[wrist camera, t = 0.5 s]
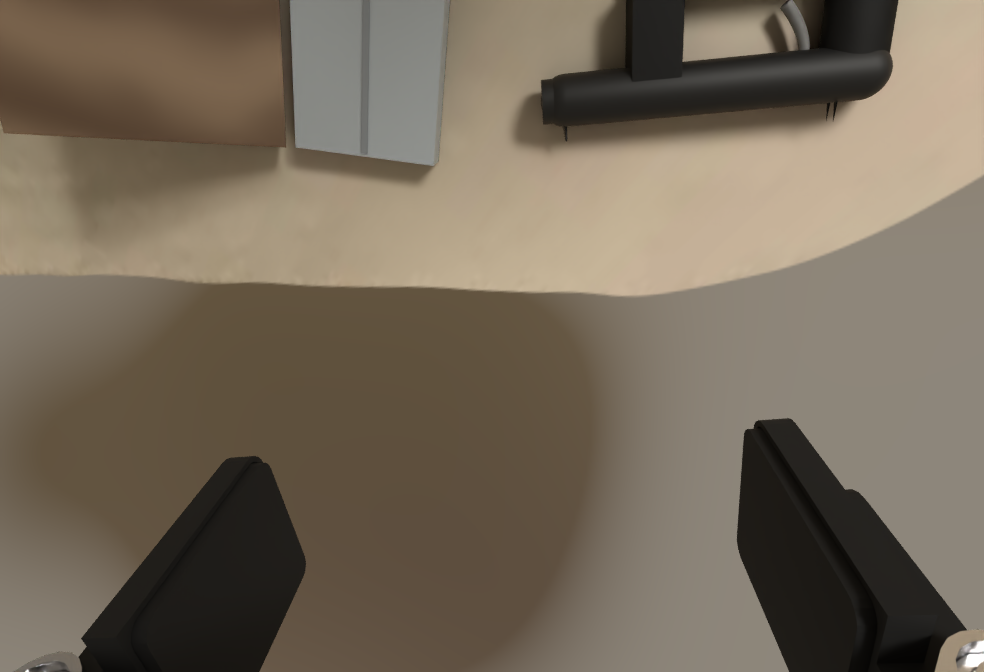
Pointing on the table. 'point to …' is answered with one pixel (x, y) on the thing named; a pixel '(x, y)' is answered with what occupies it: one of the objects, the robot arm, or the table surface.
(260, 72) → the plank
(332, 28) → the laid boards
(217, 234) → the table surface
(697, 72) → the door handle
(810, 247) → the table surface
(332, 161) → the table surface
